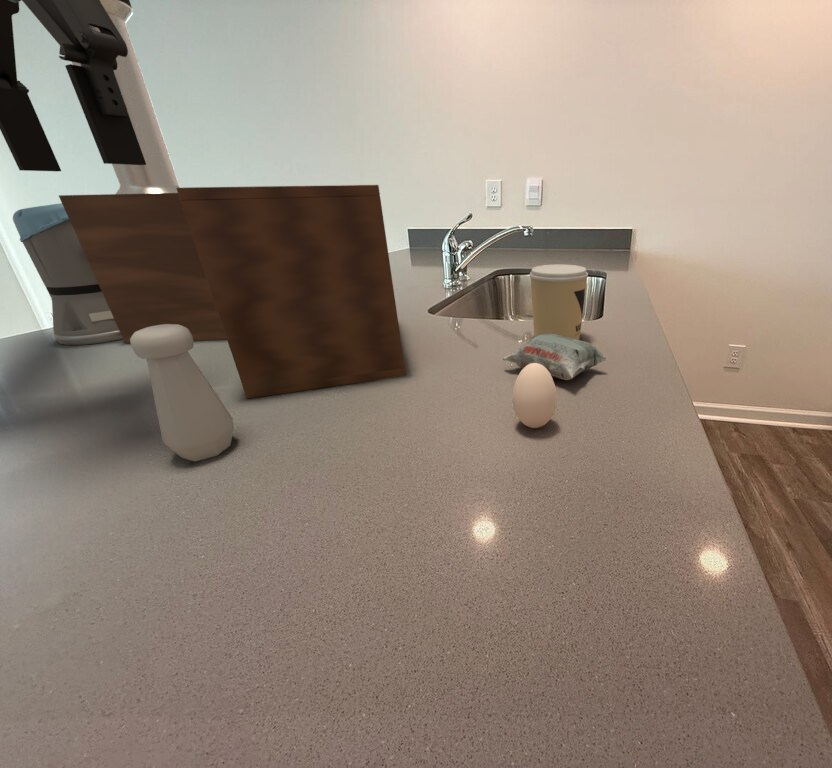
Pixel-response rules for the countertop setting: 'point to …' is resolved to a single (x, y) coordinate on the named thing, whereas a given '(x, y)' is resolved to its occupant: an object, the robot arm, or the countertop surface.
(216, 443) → the salt shaker
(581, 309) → the coffee cup
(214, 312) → the cupboard door
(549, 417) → the egg
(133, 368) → the countertop surface
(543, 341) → the packaged food
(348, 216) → the wooden board
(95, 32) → the robot arm
